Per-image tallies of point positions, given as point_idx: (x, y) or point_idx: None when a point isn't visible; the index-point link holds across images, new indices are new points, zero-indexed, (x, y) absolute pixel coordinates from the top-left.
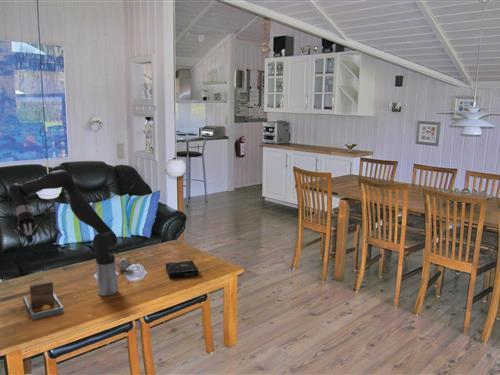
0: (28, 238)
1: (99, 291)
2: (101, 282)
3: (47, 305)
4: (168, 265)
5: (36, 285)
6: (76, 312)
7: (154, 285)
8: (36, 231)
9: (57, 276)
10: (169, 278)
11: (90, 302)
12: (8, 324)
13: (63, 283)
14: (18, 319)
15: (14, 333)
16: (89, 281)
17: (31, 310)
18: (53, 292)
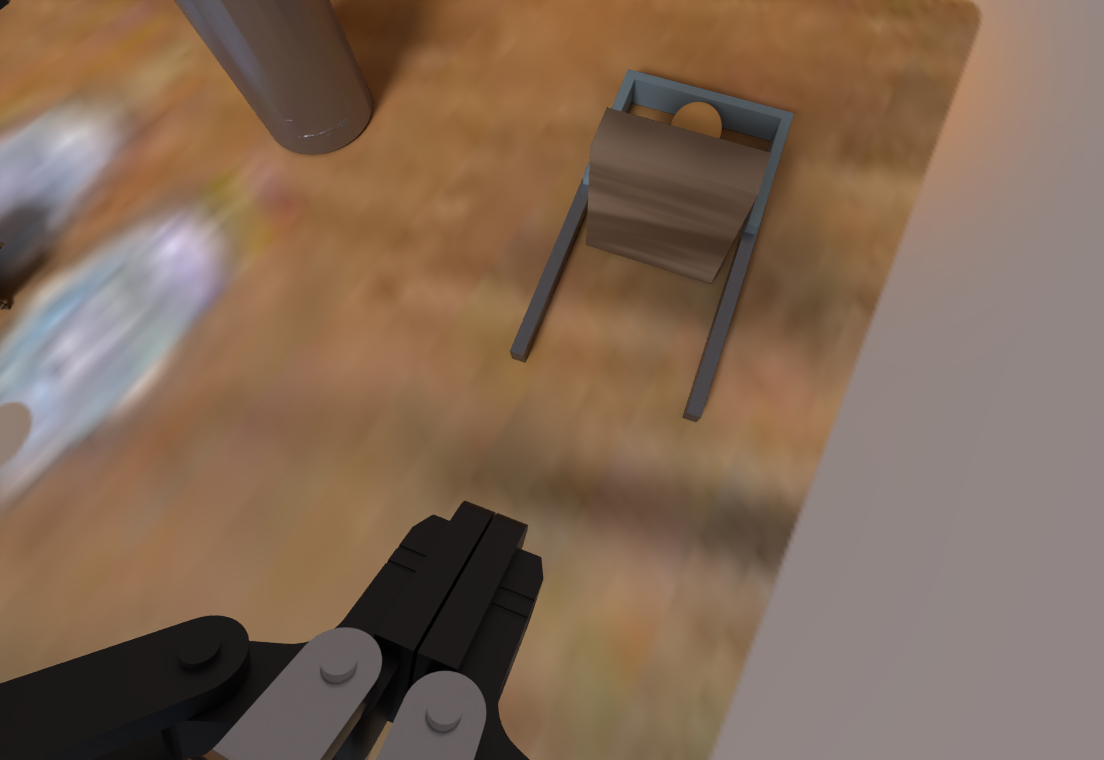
0: (497, 583)
1: (363, 95)
2: (336, 17)
3: (696, 105)
4: None
5: (723, 143)
6: (583, 46)
7: (120, 3)
8: (99, 658)
9: (294, 621)
10: (1, 4)
11: (464, 83)
12: (900, 181)
13: (367, 445)
14: (837, 192)
15: (908, 80)
16: (247, 326)
17: (772, 159)
18: (530, 312)
